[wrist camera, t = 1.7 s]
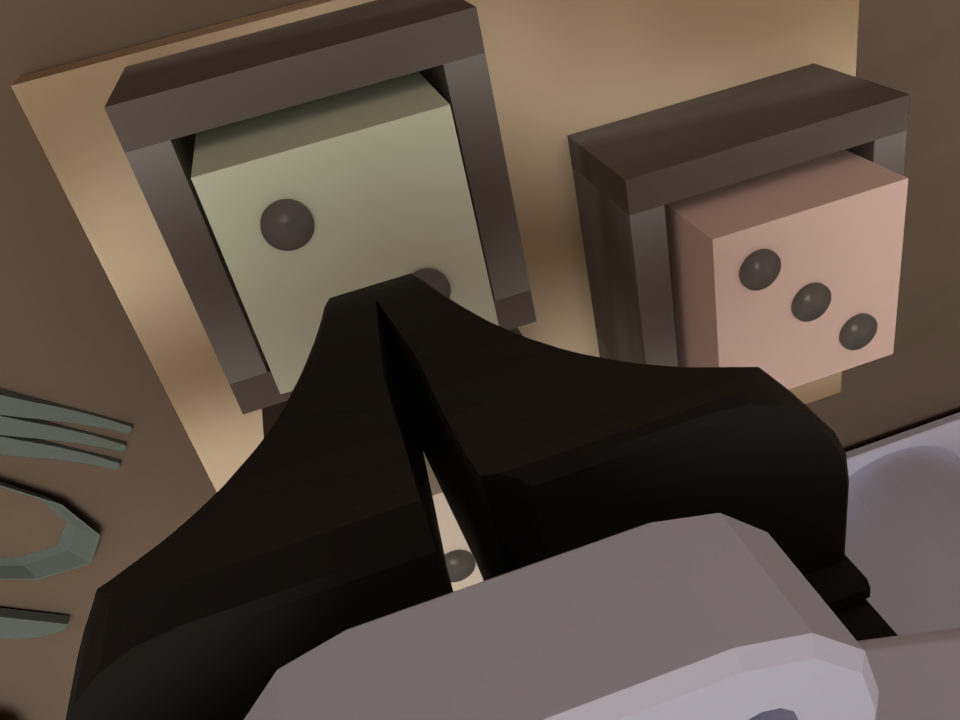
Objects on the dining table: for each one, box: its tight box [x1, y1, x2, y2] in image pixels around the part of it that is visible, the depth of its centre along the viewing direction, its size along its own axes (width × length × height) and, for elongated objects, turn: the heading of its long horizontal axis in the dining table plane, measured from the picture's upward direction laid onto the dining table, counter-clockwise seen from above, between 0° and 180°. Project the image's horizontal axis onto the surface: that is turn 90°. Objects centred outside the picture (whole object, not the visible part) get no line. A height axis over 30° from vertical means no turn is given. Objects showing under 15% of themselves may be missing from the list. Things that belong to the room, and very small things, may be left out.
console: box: [11, 0, 910, 492], centre depth 21 cm, size 15×19×4 cm
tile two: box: [191, 72, 499, 395], centre depth 16 cm, size 4×4×3 cm
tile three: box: [664, 150, 908, 389], centre depth 19 cm, size 4×4×3 cm
